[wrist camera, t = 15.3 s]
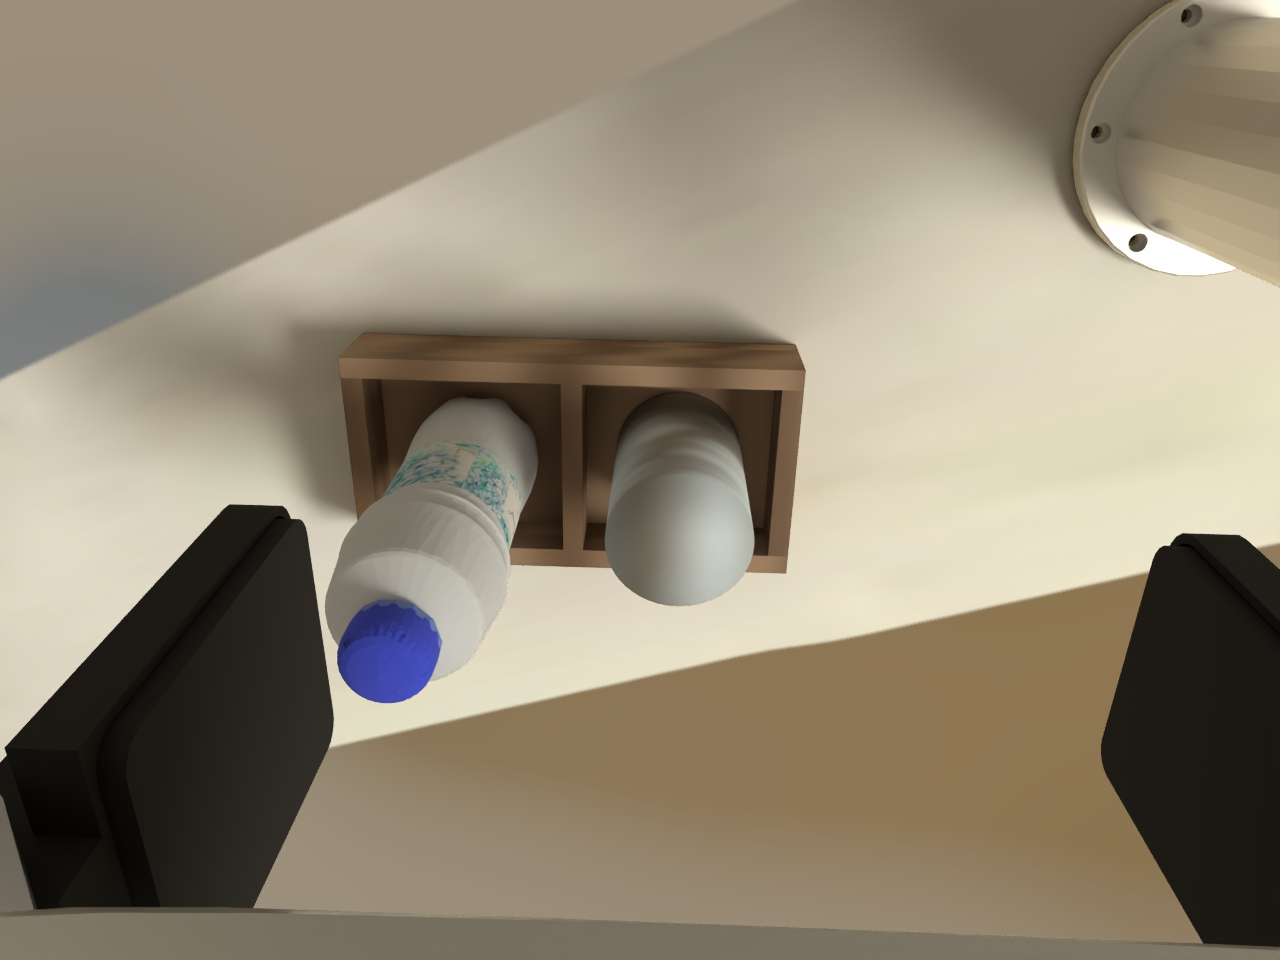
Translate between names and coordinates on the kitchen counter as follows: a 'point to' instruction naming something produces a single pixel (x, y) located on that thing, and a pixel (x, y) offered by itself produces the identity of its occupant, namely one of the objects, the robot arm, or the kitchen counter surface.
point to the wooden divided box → (608, 447)
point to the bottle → (432, 552)
